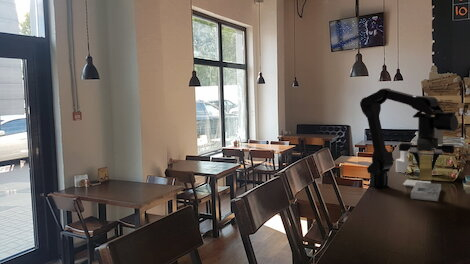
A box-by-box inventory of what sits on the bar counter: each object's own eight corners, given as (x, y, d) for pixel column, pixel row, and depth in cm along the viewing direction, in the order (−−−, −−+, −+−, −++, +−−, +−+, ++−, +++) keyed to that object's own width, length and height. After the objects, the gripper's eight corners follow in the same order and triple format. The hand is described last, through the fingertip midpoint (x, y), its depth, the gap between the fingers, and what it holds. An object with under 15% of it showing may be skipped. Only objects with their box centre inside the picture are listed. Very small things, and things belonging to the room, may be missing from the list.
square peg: (431, 180, 140) (431, 156, 139) (419, 179, 142) (419, 156, 142) (432, 178, 144) (432, 155, 143) (420, 177, 146) (421, 154, 145)
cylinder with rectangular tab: (417, 173, 184) (417, 149, 182) (397, 173, 185) (398, 149, 184) (412, 169, 192) (412, 147, 191) (393, 169, 194) (394, 147, 193)
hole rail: (437, 201, 137) (437, 194, 137) (410, 198, 142) (410, 191, 141) (440, 190, 152) (440, 184, 152) (416, 187, 157) (416, 181, 156)
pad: (428, 188, 156) (428, 186, 155) (403, 185, 161) (403, 184, 161) (430, 182, 164) (430, 181, 164) (406, 180, 169) (406, 179, 169)
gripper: (396, 131, 139) (396, 171, 141) (454, 132, 129) (453, 175, 131) (401, 128, 149) (401, 166, 150) (455, 129, 139) (454, 170, 140)
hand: (425, 169), depth 143 cm, fingers closed on square peg, 4 cm apart
